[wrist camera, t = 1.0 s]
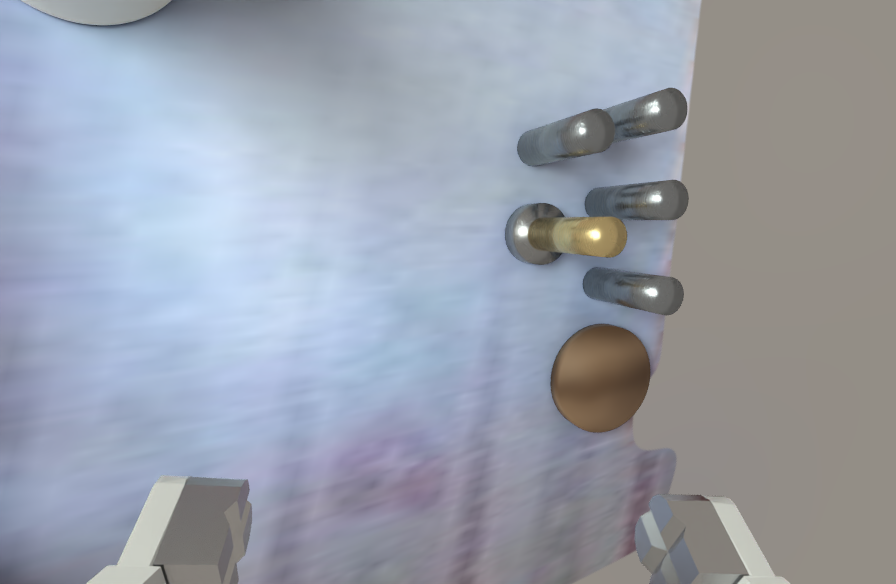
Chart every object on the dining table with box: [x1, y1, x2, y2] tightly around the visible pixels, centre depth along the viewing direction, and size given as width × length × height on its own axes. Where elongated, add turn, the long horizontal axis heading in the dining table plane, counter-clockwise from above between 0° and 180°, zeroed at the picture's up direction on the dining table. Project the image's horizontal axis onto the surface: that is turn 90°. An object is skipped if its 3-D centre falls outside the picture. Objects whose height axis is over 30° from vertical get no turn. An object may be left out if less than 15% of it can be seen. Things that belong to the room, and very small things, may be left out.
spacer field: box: [517, 88, 688, 315], centre depth 46 cm, size 15×17×10 cm
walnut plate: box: [551, 324, 650, 432], centre depth 54 cm, size 11×11×2 cm
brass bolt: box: [505, 203, 627, 265], centre depth 44 cm, size 6×6×12 cm
